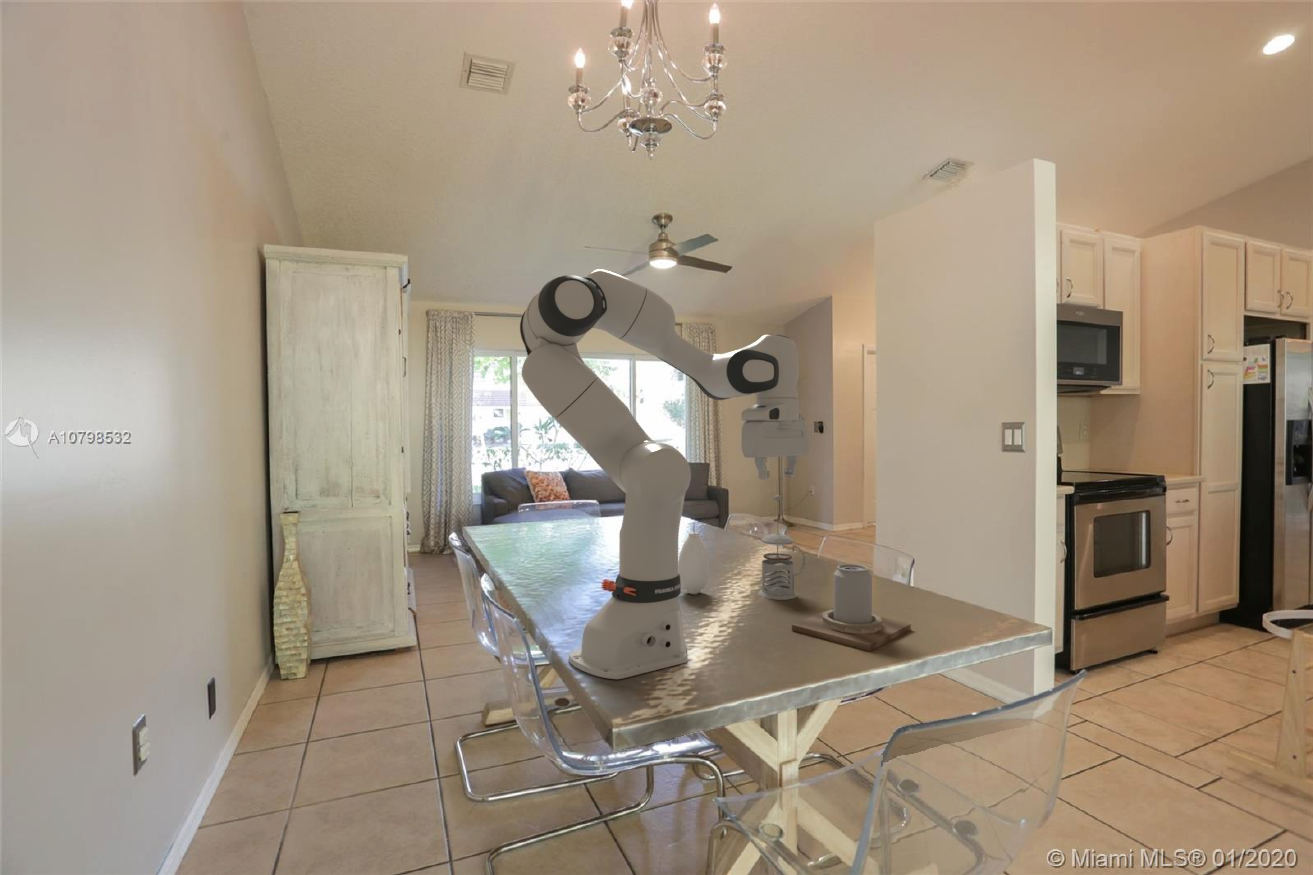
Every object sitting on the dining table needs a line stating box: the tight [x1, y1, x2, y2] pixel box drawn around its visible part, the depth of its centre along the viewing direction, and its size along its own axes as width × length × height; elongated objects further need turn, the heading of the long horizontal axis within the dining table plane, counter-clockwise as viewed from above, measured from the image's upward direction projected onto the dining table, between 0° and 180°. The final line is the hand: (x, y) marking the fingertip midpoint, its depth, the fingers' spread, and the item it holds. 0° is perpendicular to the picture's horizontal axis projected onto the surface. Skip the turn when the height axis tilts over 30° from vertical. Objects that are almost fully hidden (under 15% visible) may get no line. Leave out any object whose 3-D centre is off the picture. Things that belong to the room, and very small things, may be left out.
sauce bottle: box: [678, 522, 710, 595], centre depth 157 cm, size 8×8×18 cm
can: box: [833, 563, 873, 624], centre depth 128 cm, size 8×8×12 cm
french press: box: [757, 494, 806, 601], centre depth 156 cm, size 10×12×25 cm
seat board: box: [791, 607, 912, 652], centre depth 129 cm, size 18×17×3 cm
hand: (777, 478), depth 132 cm, fingers open, 8 cm apart
